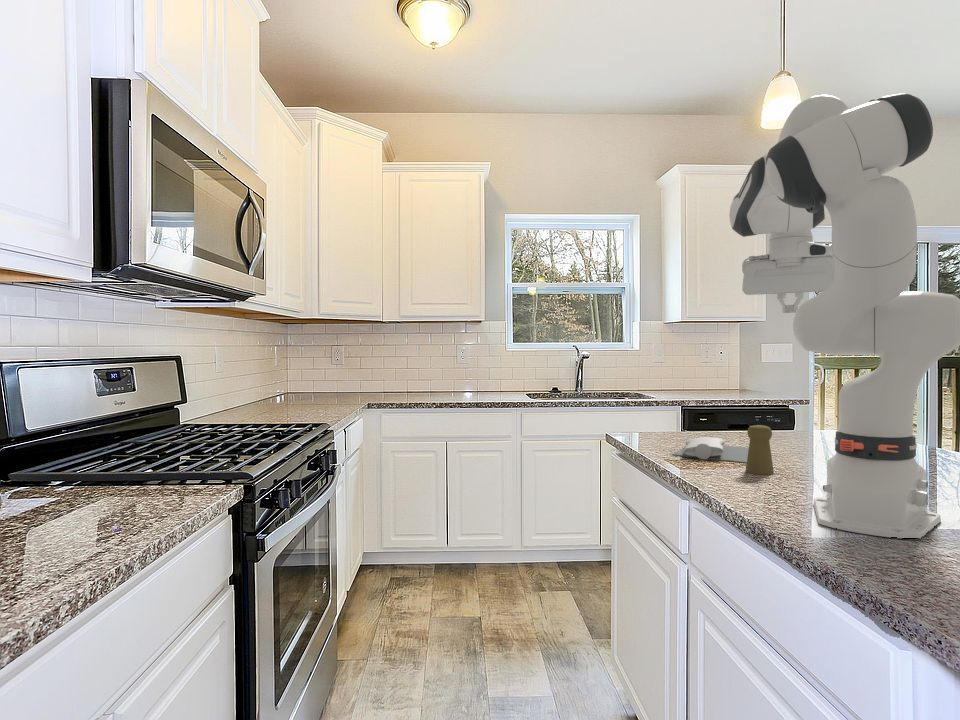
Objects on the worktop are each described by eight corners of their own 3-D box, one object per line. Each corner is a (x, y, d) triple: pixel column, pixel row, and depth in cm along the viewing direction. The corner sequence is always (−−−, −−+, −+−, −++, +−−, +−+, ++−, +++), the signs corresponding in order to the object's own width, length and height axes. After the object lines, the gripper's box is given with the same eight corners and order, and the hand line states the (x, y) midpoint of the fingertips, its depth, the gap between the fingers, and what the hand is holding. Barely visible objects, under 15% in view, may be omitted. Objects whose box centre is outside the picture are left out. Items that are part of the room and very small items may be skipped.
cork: (742, 469, 143) (742, 423, 143) (768, 469, 142) (768, 423, 142) (749, 474, 137) (750, 427, 137) (777, 475, 136) (778, 427, 136)
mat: (750, 463, 149) (750, 462, 149) (671, 455, 162) (671, 454, 162) (769, 450, 167) (769, 449, 167) (697, 443, 179) (697, 442, 179)
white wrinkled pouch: (681, 443, 158) (685, 433, 178) (682, 459, 157) (686, 447, 178) (724, 443, 154) (724, 432, 174) (725, 459, 153) (725, 446, 174)
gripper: (738, 255, 140) (738, 314, 141) (839, 246, 128) (839, 310, 128) (745, 258, 145) (745, 314, 146) (843, 249, 133) (842, 311, 133)
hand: (790, 312), depth 137 cm, fingers closed
